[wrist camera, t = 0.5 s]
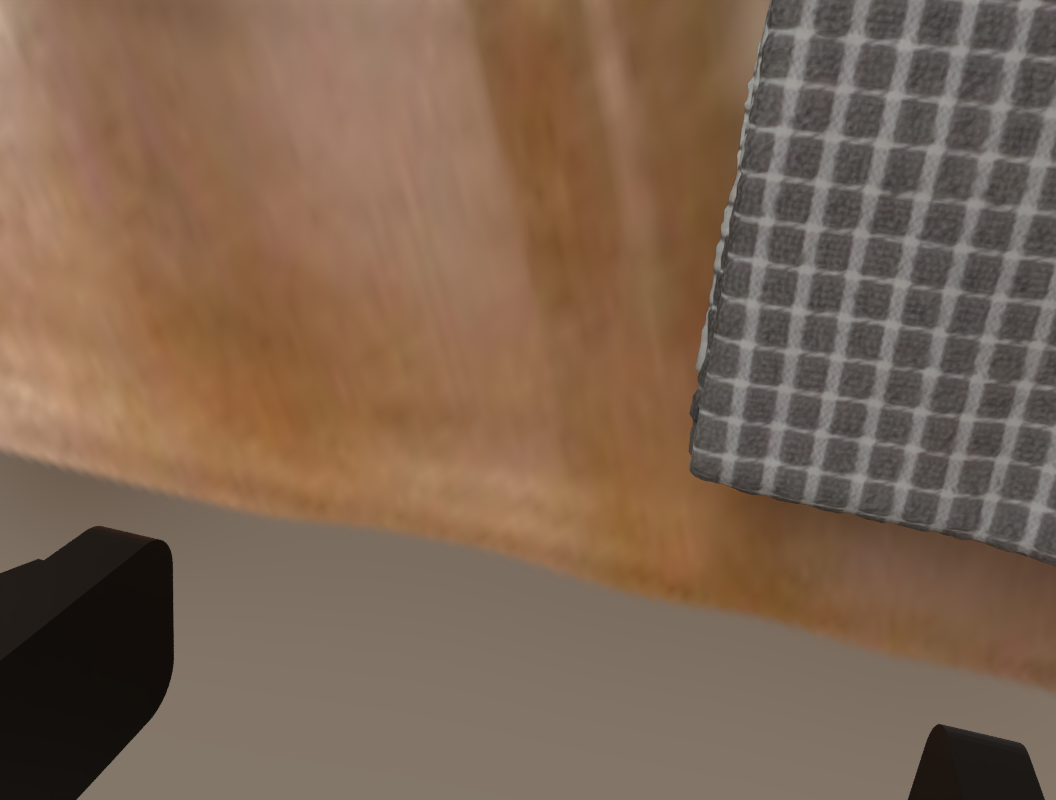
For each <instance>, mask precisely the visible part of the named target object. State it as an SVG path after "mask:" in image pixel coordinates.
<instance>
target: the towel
mask: <svg viewBox="0 0 1056 800" xmlns="http://www.w3.org/2000/svg"><path fill="white" fill-rule="evenodd" d="M748 90H749V95H748V99H747V101H746V103H745V104H744V105H745V108H746V109H745V115H744V122H743V127H742V131H741V140H740V147H739V152H738V155H737V158H738V165H737V176H736V180H735V183H734V186H733V189H732V191H731V193H730V197H729V202H728V205H727V207H726V209H725V211H724V221H723V224H722V226H721V238H720V242H719V243H718V245H717V248H716V259H715V263H714V278H713V286H712V290H711V293H710V300H709V310H708V312H707V314H706V323H705V326H704V328H703V330H702V337H701V344H700V349H699V354H698V358H697V364H696V371H698V372H699V375H698V384H699V387H698V390H697V391H696V393H695V394H694V395H693V402H692V404H691V410H690V415H691V417H692V418H693V426H692V429H691V433H690V443H689V453H690V454H691V459H690V464H689V468H690V471H691V473H692V474H693V475H694V476H695V477H697V478H699V479H701V480H704V481H710V482H714V483H720V484H725V485H727V486H730V487H732V488H735V489H737V490H739V491H741V492H744V493H747V494H751V495H760V494H761V495H767V496H769V497H772V498H774V499H777V500H780V501H785V502H790V503H796V504H807V505H810V506H813V507H815V508H818V509H821V510H825V511H831V512H835V513H846V512H848V513H851V514H854V515H857V516H860V517H862V518H865V519H867V520H875V521H878V522H881V523H883V522H891V523H895V524H898V525H901V526H905V527H909V528H913V529H916V530H920V531H932V530H933V531H937V532H939V533H941V534H943V535H948V536H953V537H955V538H958V539H960V540H975V541H979V542H983V543H986V544H988V545H990V546H993V547H996V548H999V549H1002V550H1005V551H1008V552H1016V553H1019V554H1022V555H1025V556H1029V557H1031V558H1033V559H1036V560H1038V561H1041V562H1044V563H1048V564H1052V565H1055V566H1056V0H771V2H770V6H769V9H768V13H767V17H766V22H765V25H764V31H763V36H762V40H761V42H760V43H759V46H758V51H757V61H756V64H755V66H754V74H753V78H752V79H751V81H750V82H749V83H748Z"/></svg>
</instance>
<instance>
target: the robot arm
mask: <svg viewBox="0 0 1056 800" xmlns="http://www.w3.org/2000/svg"><path fill="white" fill-rule="evenodd" d="M173 664H174V631H173V561H172V554H171V550H170V548H169V546H168V545H167V544H166V543H165V542H164V541H162V540H159V539H154V538H150V537H146V536H141V535H137V534H133V533H128V532H124V531H120V530H116V529H111V528H107V527H103V526H95V527H92V528H90V529H88V530H86V531H85V532H83V533H82V534H81V535H79V536H78V537H76V538H75V539H74V540H72V541H71V542H69V543H68V544H67V545H65V546H64V547H62V548H61V549H59V550H58V551H57V552H55V553H54V554H52V555H51V556H50V557H48V558H47V559H45V560H40V559H37V560H34V561H32V562H29V563H26V564H24V565H21V566H19V567H16V568H13V569H10V570H8V571H5V572H3V573H0V800H77V798H78V797H79V796H80V795H81V794H82V793H83V792H84V791H85V790H86V789H87V788H88V786H90V784H91V783H92V782H93V781H94V780H95V779H96V778H97V777H98V776H99V775H100V774H101V773H102V771H103V770H104V769H105V768H106V767H107V766H108V765H109V764H110V763H111V762H112V761H113V760H114V758H115V757H116V756H117V755H118V754H119V753H120V752H121V751H122V750H123V749H124V748H125V746H126V745H127V744H128V743H129V742H130V741H131V740H132V739H133V738H134V737H135V736H136V735H137V734H138V732H139V731H140V730H141V729H142V728H143V727H144V726H145V725H146V724H147V723H148V722H149V720H150V719H151V718H152V717H153V716H154V714H155V713H156V711H157V710H158V708H159V706H160V704H161V702H162V701H163V699H164V697H165V694H166V692H167V689H168V686H169V683H170V680H171V675H172V671H173ZM908 800H1045V799H1044V796H1043V793H1042V791H1041V788H1040V785H1039V782H1038V779H1037V777H1036V774H1035V771H1034V768H1033V765H1032V762H1031V760H1030V757H1029V754H1028V752H1027V750H1026V748H1025V747H1024V745H1022V744H1021V743H1018V742H1014V741H1010V740H1006V739H1001V738H997V737H993V736H989V735H984V734H980V733H976V732H971V731H967V730H963V729H958V728H954V727H950V726H946V725H941V724H938V725H936V726H935V727H934V728H933V729H932V731H931V732H930V735H929V737H928V739H927V742H926V745H925V748H924V751H923V754H922V757H921V760H920V763H919V766H918V769H917V773H916V776H915V779H914V782H913V785H912V788H911V791H910V795H909V798H908Z"/></svg>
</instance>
